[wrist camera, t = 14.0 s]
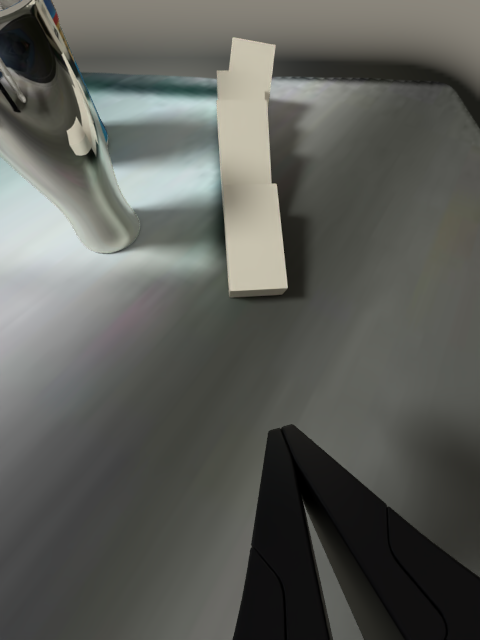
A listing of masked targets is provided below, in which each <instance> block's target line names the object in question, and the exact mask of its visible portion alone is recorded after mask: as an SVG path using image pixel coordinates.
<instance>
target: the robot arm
mask: <svg viewBox="0 0 480 640" xmlns="http://www.w3.org/2000/svg"><path fill="white" fill-rule="evenodd" d="M302 499H303V500H302ZM303 502H304V504H303ZM304 505H305V507H306V510H307V512H308V514H309V517H310V519H311V521H312V523H313V526H314V528H315V530H316V532H317V535H318V537H319V539H320V541H321V544H322V546H323V548H324V550H325V553H326V555H327V557H328V559H329V562H330V564H331V566H332V568H333V571H334V573H335V575H336V577H337V580H338V582H339V584H340V586H341V589H342V591H343V593H344V595H345V598H346V600H347V602H348V604H349V607H350V609H351V611H352V613H353V616H354V618H355V620H356V622H357V625H358V627H359V629H360V631H361V634H362V636H363V638H364V640H480V577H478V576H477V575H476V574H474V573H473V572H471V571H470V570H469V569H467V568H466V567H465V566H463V565H462V564H461V563H459V562H458V561H457V560H455V559H454V558H453V557H451V556H450V555H449V554H447V553H446V552H445V551H443V550H442V549H441V548H439V547H438V546H437V545H435V544H434V543H433V542H431V541H430V540H429V539H428V538H426V537H425V536H424V535H423V534H421V533H420V532H419V531H418V530H417V529H415V528H414V527H413V526H412V525H410V524H409V523H408V522H407V521H406V520H404V519H403V518H402V517H401V516H400V515H399V514H397V513H396V512H395V511H394V510H393V509H392V508H390V507H387V505H386V503H384V502H383V501H382V500H381V499H380V498H379V497H377V496H376V495H375V494H374V493H373V492H372V491H370V490H369V489H368V488H367V487H366V486H365V485H363V484H362V483H361V482H360V481H359V480H358V479H356V478H355V477H354V476H353V475H352V474H351V473H349V472H348V471H347V470H346V469H345V468H343V467H342V466H341V465H340V464H339V463H338V462H336V461H335V460H334V459H333V458H332V457H331V456H329V455H328V454H327V453H326V452H325V451H324V450H322V449H321V448H320V447H319V446H318V445H317V444H315V443H314V442H313V441H312V440H311V439H310V438H308V437H307V436H306V435H305V434H304V433H303V432H301V431H300V430H299V429H298V428H297V427H296V426H294V425H292V424H291V425H287V426H284V427H282V428H281V429H280V428H277V429H273V430H270V431H269V432H268V437H267V444H266V451H265V457H264V464H263V470H262V477H261V484H260V490H259V497H258V503H257V510H256V517H255V523H254V530H253V537H252V543H251V545H252V548H251V549H250V555H249V562H248V568H247V574H246V579H245V585H244V591H243V596H242V601H241V605H240V610H239V614H238V619H237V623H236V628H235V632H234V636H233V640H333V637H332V632H331V628H330V623H329V619H328V614H327V609H326V605H325V600H324V596H323V591H322V586H321V582H320V577H319V573H318V568H317V563H316V559H315V554H314V550H313V545H312V540H311V536H310V531H309V527H308V522H307V517H306V513H305V509H304Z"/></svg>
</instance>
